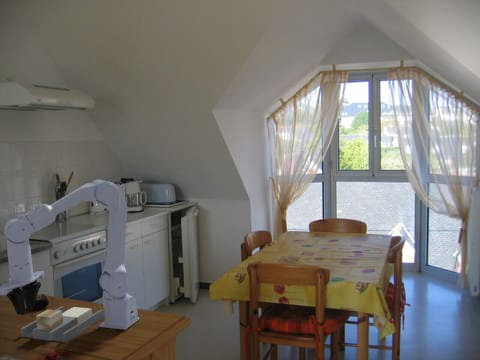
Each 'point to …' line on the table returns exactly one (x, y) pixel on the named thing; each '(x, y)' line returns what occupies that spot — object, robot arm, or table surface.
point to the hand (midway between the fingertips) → (25, 311)
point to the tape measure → (41, 301)
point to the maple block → (49, 320)
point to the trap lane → (64, 325)
